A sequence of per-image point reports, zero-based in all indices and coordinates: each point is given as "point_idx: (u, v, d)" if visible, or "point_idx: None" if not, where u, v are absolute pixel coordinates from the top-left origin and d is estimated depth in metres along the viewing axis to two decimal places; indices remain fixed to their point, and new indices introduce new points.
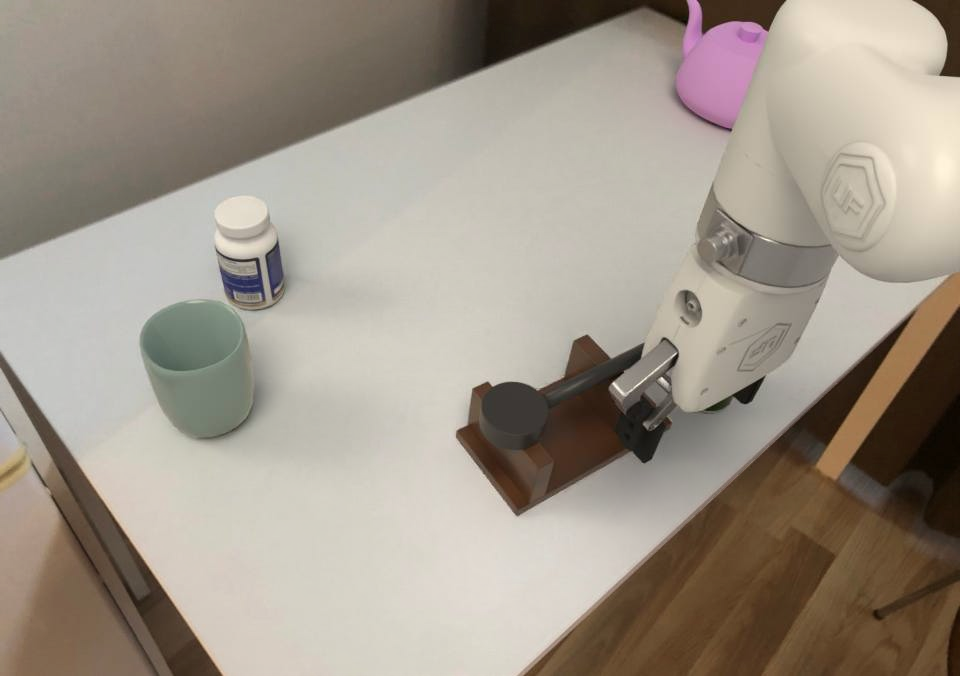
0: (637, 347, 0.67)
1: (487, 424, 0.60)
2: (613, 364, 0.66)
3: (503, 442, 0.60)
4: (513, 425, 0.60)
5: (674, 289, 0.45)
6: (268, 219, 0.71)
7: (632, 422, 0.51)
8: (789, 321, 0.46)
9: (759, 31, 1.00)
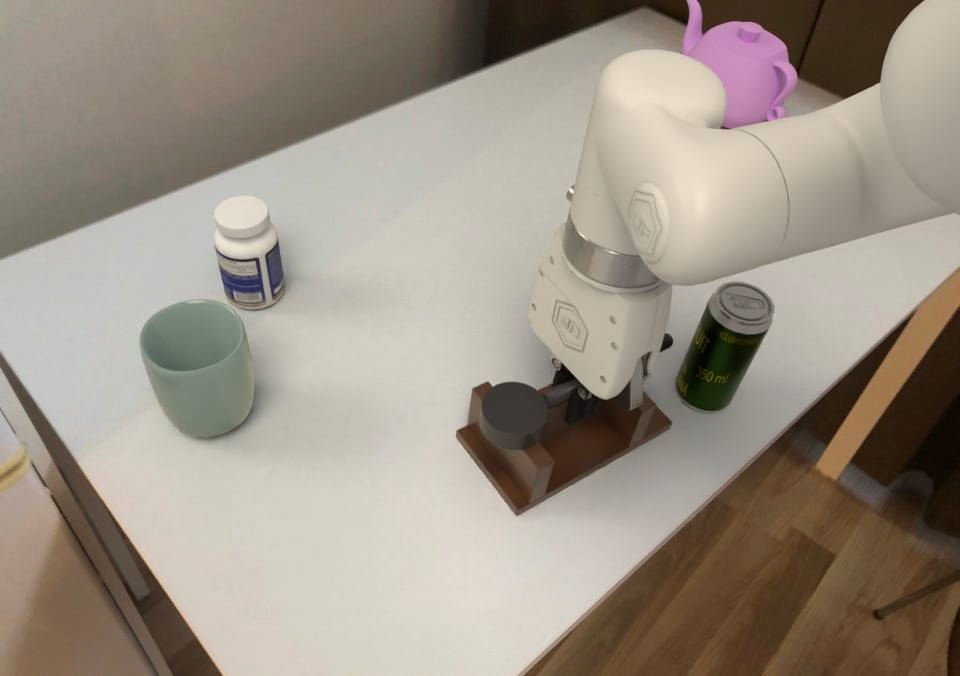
0: None
1: (487, 424, 0.60)
2: None
3: (503, 442, 0.60)
4: (513, 425, 0.60)
5: None
6: (268, 219, 0.71)
7: None
8: (585, 324, 0.55)
9: (759, 31, 1.00)
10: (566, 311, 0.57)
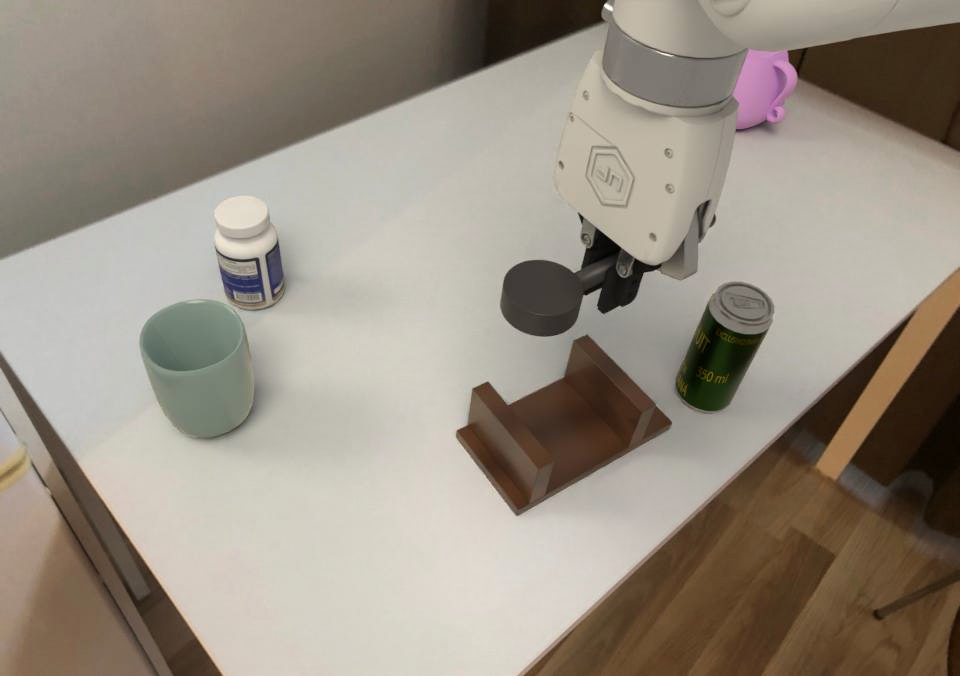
0: None
1: (512, 305, 0.50)
2: None
3: (532, 326, 0.50)
4: (543, 305, 0.50)
5: None
6: (268, 219, 0.71)
7: None
8: (631, 168, 0.46)
9: None
10: (605, 158, 0.47)
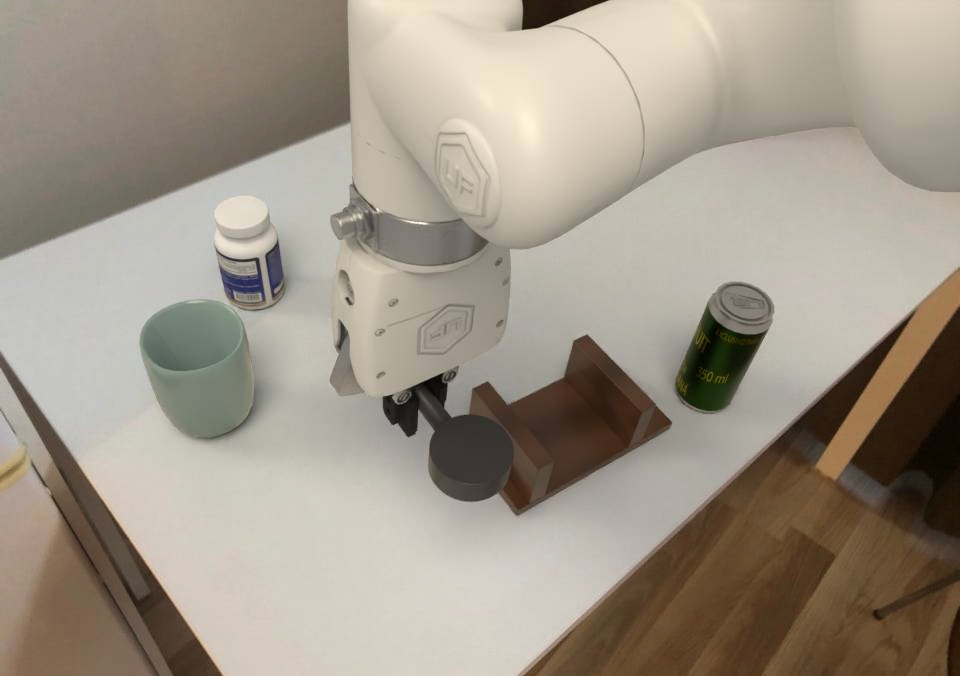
0: None
1: (495, 481, 0.48)
2: None
3: (509, 471, 0.49)
4: (499, 452, 0.49)
5: (337, 269, 0.43)
6: (268, 219, 0.71)
7: None
8: (468, 302, 0.45)
9: None
10: (435, 323, 0.45)
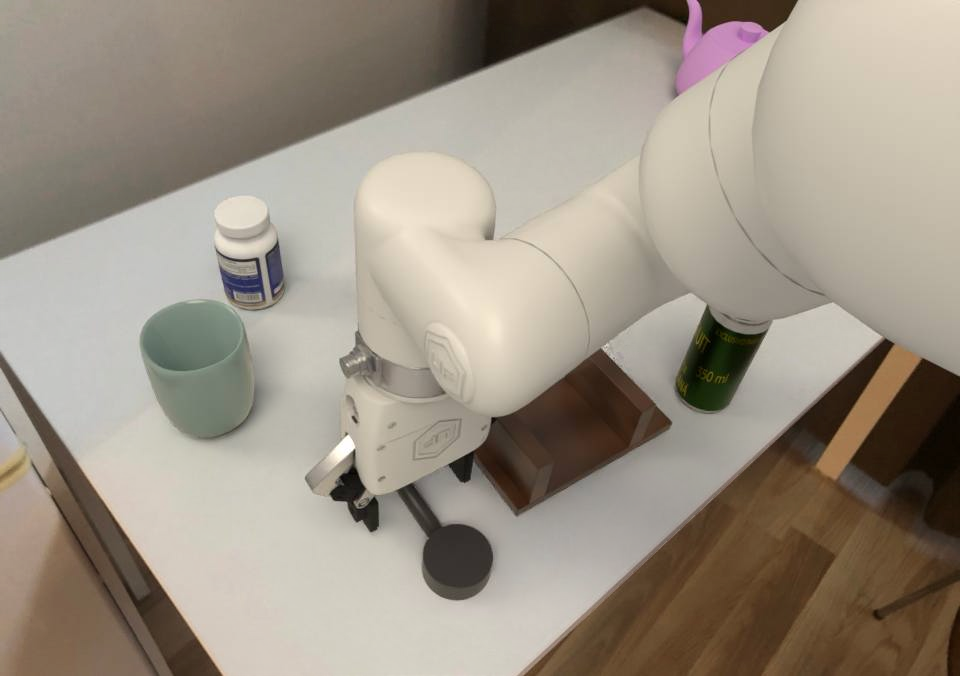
0: None
1: (477, 584, 0.58)
2: None
3: (489, 573, 0.59)
4: (481, 558, 0.59)
5: (344, 392, 0.51)
6: (268, 219, 0.71)
7: None
8: (456, 417, 0.53)
9: (759, 31, 1.00)
10: (428, 435, 0.52)
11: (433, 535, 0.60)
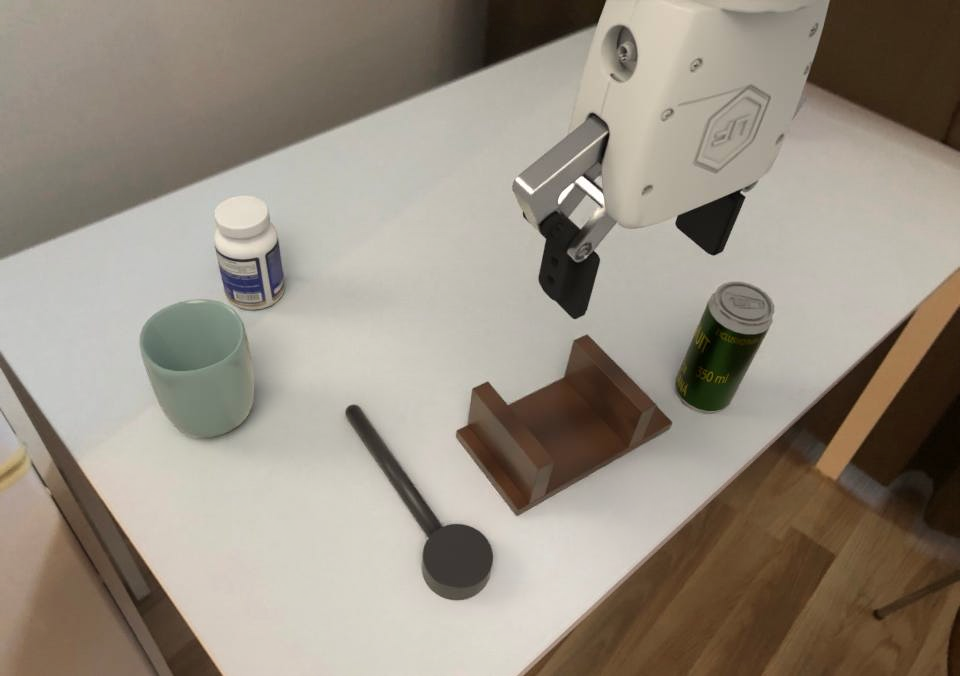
0: (368, 435, 0.66)
1: (477, 584, 0.58)
2: (391, 460, 0.64)
3: (489, 573, 0.59)
4: (481, 558, 0.59)
5: (600, 32, 0.31)
6: (268, 219, 0.71)
7: (555, 256, 0.37)
8: (767, 90, 0.33)
9: None
10: (726, 115, 0.32)
11: (433, 535, 0.60)
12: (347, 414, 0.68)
